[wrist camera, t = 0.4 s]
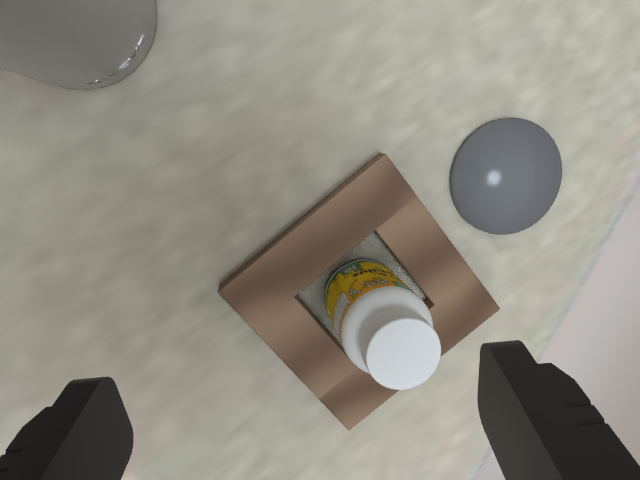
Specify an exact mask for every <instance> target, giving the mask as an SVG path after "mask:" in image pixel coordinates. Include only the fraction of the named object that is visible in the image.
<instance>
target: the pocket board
mask: <svg viewBox="0 0 640 480" xmlns="http://www.w3.org/2000/svg"><path fill="white" fill-rule="evenodd" d="M374 231H375V233H376V234H377V235H378V237H379V238H380V239H381V240H382V242H383V243H384V244H385V245H386V247H387V248H388V249H389V250H390V252H391V253H392V254H393V256H394V257H395V258H396V259H397V261H398V262H399V263H400V264H401V266H402V267H403V268H404V269H405V271H406V272H407V273H408V275H409V276H410V277H411V278H412V280H413V281H414V282H415V283H416V285H417V286H418V287H419V288H420V290H421V291H422V292H423V293H424V295H425V296H426V297H427V298H426V299H425V300H424V301H423V302H424V303H425V304H426V306H427V308H428V310H429V312H430V314H431V317H432V321H433V329H434V330H435V332H436V333H437V335H438V337H439V340H440V344H441V356H442V355H443V354H445V353H446V352H447V351H448V350H450V349H451V348H452V347H453V346H455V345H456V344H457V343H458V342H460V341H461V340H462V339H463V338H465V337H466V336H467V335H468V334H469V333H471V332H472V331H473V330H474V329H476V328H477V327H478V326H479V325H481V324H482V323H483V322H484V321H486V320H487V319H488V318H489V317H491V316H492V315H493V314H494V313H496V312H497V311H498V310H499V309H500V308H499V306H498V305H497V304H496V302H495V301H494V300H493V298H492V297H491V296H490V294H489V293H488V292H487V290H486V289H485V287H484V286H483V285H482V283H481V282H480V281H479V279H478V278H477V277H476V275H475V274H474V273H473V271H472V270H471V269H470V267H469V266H468V264H467V263H466V262H465V260H464V259H463V258H462V256H461V255H460V254H459V252H458V251H457V250H456V248H455V247H454V246H453V244H452V243H451V241H450V240H449V239H448V237H447V236H446V235H445V233H444V232H443V231H442V229H441V228H440V227H439V225H438V224H437V223H436V221H435V220H434V219H433V217H432V216H431V214H430V213H429V212H428V210H427V209H426V208H425V206H424V205H423V204H422V202H421V201H420V200H419V198H418V197H417V196H416V194H415V193H414V191H413V190H412V189H411V187H410V186H409V185H408V183H407V182H406V181H405V179H404V178H403V177H402V175H401V174H400V173H399V171H398V170H397V169H396V167H395V166H394V164H393V163H392V162H391V160H390V159H389V158H388V156H387V155H386V154H381V153H379V154H378V155H377V156H376V157H374V158H373V159H372V160H371V161H370V162H368V163H367V164H366V165H365V166H364V167H362V168H361V169H360V170H359V171H358V172H356V173H355V174H354V175H353V176H351V177H350V178H349V179H348V180H347V181H345V182H344V183H343V184H342V185H341V186H339V187H338V188H337V189H336V190H335V191H333V192H332V193H331V194H330V195H328V196H327V197H326V198H325V199H324V200H322V201H321V202H320V203H319V204H318V205H316V206H315V207H314V208H313V209H312V210H310V211H309V212H308V213H307V214H306V215H304V216H303V217H302V218H301V219H299V220H298V221H297V222H296V223H295V224H293V225H292V226H291V227H290V228H289V229H287V230H286V231H285V232H284V233H283V234H281V235H280V236H279V237H278V238H276V239H275V240H274V241H273V242H272V243H270V244H269V245H268V246H267V247H266V248H264V249H263V250H262V251H261V252H260V253H258V254H257V255H256V256H255V257H253V258H252V259H251V260H250V261H249V262H247V263H246V264H245V265H244V266H243V267H241V268H240V269H239V270H238V271H237V272H235V273H234V274H233V275H232V276H230V277H229V278H228V279H227V280H226V281H224V282H223V283H222V284H221V285H220V286H219V290H218V293H219V294H220V295H221V297H222V298H223V299H224V300H225V301H226V302H227V303H228V304H229V305H230V306H231V307H232V308H233V309H234V310H235V311H236V312H237V313H238V314H239V315H240V317H241V318H242V319H243V320H244V321H245V322H246V323H247V324H248V325H249V326H250V327H251V328H252V329H253V330H254V331H255V332H256V333H257V334H258V336H259V337H260V338H261V339H262V340H263V341H264V342H265V343H266V344H267V345H268V346H269V347H270V348H271V349H272V350H273V351H274V352H275V353H276V354H277V356H278V357H279V358H280V359H281V360H282V361H283V362H284V363H285V364H286V365H287V366H288V367H289V368H290V369H291V370H292V371H293V372H294V373H295V375H296V376H297V377H298V378H299V379H300V380H301V381H302V382H303V383H304V384H305V385H306V386H307V387H308V388H309V389H310V390H311V391H312V392H313V393H314V395H315V396H316V397H317V398H318V399H319V400H320V401H321V402H322V403H323V404H324V405H325V406H326V407H327V408H328V409H329V410H330V411H331V412H332V414H333V415H334V416H335V417H336V418H337V419H338V420H339V421H340V422H341V423H342V424H343V425H344V426H345V427H346V428H347V429H348V430H350V429H352V428H353V427H354V426H355V425H356V424H358V423H359V422H360V421H361V420H363V419H364V418H365V417H366V416H368V415H369V414H370V413H371V412H373V411H374V410H375V409H376V408H378V407H379V406H380V405H381V404H383V403H384V402H385V401H386V400H388V399H389V398H390V397H391V396H392V395H394V394H395V393H396V392H397V391H399V390H395V389H390V388H387V387H385V386H382V385H381V384H379V383H378V382H377V381H376V380H375V379H374V378H373V377H372V376H371V374H369V373H367V372H365V371H363V370H361V369H360V368H358V367H357V366H356V365H355V364H354V363H353V362H352V361H351V360H350V359H349V357H348V356H347V354H346V352H345V350H344V348H343V346H342V345H341V344H340V343H339V342H338V341H337V340H336V339H335V337H334V336H333V335H332V334H331V333H330V332H329V331H328V330H327V328H326V327H325V326H324V325H323V324H322V323H321V322H320V321H319V319H318V318H317V317H316V316H315V315H314V314H313V313H312V312H311V310H310V309H309V308H308V307H307V306H306V305H305V304H304V303H303V301H302V300H301V299H300V298H299V297H298V296H297V294H298V293H299V292H300V291H302V290H303V289H304V288H305V287H307V286H308V285H309V284H310V283H311V282H313V281H314V280H315V279H316V278H318V277H319V276H320V275H321V274H322V273H324V272H325V271H326V270H327V269H328V268H330V267H331V266H332V265H333V264H335V263H336V262H337V261H338V260H339V259H341V258H342V257H343V256H344V255H346V254H347V253H348V252H349V251H350V250H352V249H353V248H354V247H355V246H357V245H358V244H359V243H360V242H361V241H363V240H364V239H365V238H366V237H367V236H369V235H370V234H371V233H372V232H374ZM441 356H440V357H441Z"/></svg>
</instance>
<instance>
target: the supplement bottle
mask: <svg viewBox="0 0 640 480" xmlns="http://www.w3.org/2000/svg"><path fill="white" fill-rule="evenodd" d="M325 305H326V309H327V312H328V315H329V317H330V319H331V321H332V324H333V326H334V328H335V330H336V332H337V335H338V337H339V340H340V342H341V344H342V346H343V348H344V350H345V352H346V354H347V356H348V357H349V359H350V360H351V361H352V362H353V363H354V364H355V365H356V366H357V367H358V368H360V369H361V370H363V371H365V372H367V373H369V374H371V376H372V377H373V378H374V379H375V380H376V381H377V382H378V383H379V384H381V385H382V386H385V387H387V388H390V389H395V390H404V389H410V388H413V387H415V386H418V385H419V384H421V383H423V382H424V381H426V380H427V379H428V378H429V377H430V376H431V375H432V374H433V372H434V371H435V369H436V367H437V366H438V363H439V360H440V356H441V344H440V340H439V337H438V335H437V333H436V332H435V330H434V329H433V321H432V317H431V314H430V312H429V310H428V308H427V306H426V304H425V303H424V302H423V301H422V300H421V298H420V297H419V296H417V295H416V294H415V293H414V292H413V291H412V290H411V289H410V288H409V287H408V286H407V285H405V284H404V283H403V282H402V281H401V280H400V279H399V278H398V277H397V276H396V275H395V274H394V273H393V272H392V271H391V270H389V269H388V268H387V267H386V266H384V265H383V264H381V263H379V262H376V261H373V260H367V259H360V260H355V261H352V262H350V263H348V264H346V265H344V266H342V267H340V268H339V269H338V270H337V271H336V272H334V274H333V275H332V276H331V277H330V279H329V281H328V283H327V286H326V290H325Z"/></svg>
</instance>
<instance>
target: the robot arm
mask: <svg viewBox="0 0 640 480" xmlns="http://www.w3.org/2000/svg"><path fill="white" fill-rule="evenodd" d="M156 21H157V8H156V0H0V69H2V70H5V71H9V72H12V73H16V74H19V75H23V76H26V77H29V78H33V79H37V80H40V81H44V82H48V83H51V84H55V85H59V86H62V87H66V88H71V89H84V90H87V89H94V88H102V87H105V86H108V85H110V84H113V83H116V82H118V81H120V80H121V79H123V78H124V77H126V76H127V75H129V74H130V73H132V72H133V71H134V70H135V69H136V67H137V66H138V65H139V64H140V63H141V62H142V61H143V59H144V58H145V56H146V54H147V52H148V51H149V49H150V47H151V44H152V41H153V38H154V34H155V31H156ZM478 409H479V414H480V419H481V422H482V425H483V428H484V431H485V433H486V435H487V438H488V440H489V442H490V445H491V447H492V449H493V452H494V454H495V456H496V458H497V461H498V463H499V465H500V468H501V470H502V472H503V475H504V477H505V479H506V480H640V466H639V465H638V463H637V462H636V461H635V459H634V458H633V457H632V456H631V454H630V453H629V451H628V450H627V449H626V447H625V446H624V445H623V444H622V442H621V441H620V439H619V438H618V437H617V436H616V434H615V433H614V432H613V430H612V429H611V428H610V426H609V425H608V424H605V422H604V418H603V417H602V416H601V414H600V413H599V412H598V410H597V409H596V408H595V406H593V405H591V403H590V400H589V398H588V397H587V396H586V394H585V393H584V392H583V390H582V389H581V388H580V386H579V385H578V384H577V383H576V382H575V380H574V379H573V378H571V377H570V376H569V375H567V374H566V373H564V372H563V371H562V370H560V369H559V368H557V367H556V366H555V365H553V364H552V363H544V364H537V363H536V361H535V360H534V358H533V357H532V355H531V354H530V352H529V351H528V350H527V348H526V347H525V345H524V344H523V343H522V342H521V341H519V340H515V341H504V342H493V343H484V344H482V346H481V349H480V364H479V381H478ZM132 448H133V429H132V426H131V423H130V420H129V418H128V415H127V412H126V410H125V407H124V405H123V402H122V399H121V397H120V394H119V391H118V389H117V386H116V384H115V382H114V380H113V379H112V378H110V377H99V378H88V379H77V380H73V381H71V382H69V383H68V384H67V386H66V387H65V388H64V390H63V391H62V393H61V394H60V396H59V397H58V398H57V400H56V401H55V403H54V404H53V406H51V407H46V408H44V409H43V410H42V411H41V412H40V413H39V414H37V415H36V416H35V417H34V418H33V419H32V420H30V421H29V422H28V423H27V424H26V425H25V426H23V427H22V429H21V430H20V431H19V433H18V434H17V435H16V437H15V438H14V439H13V441H12V442H11V444H10V445H9V446H8V448H7V449H6V453H5V455H2V456H1V457H0V480H121V477H122V475H123V473H124V470H125V468H126V466H127V464H128V461H129V459H130V456H131V453H132Z"/></svg>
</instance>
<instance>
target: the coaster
mask: <svg viewBox="0 0 640 480" xmlns="http://www.w3.org/2000/svg"><path fill="white" fill-rule="evenodd" d="M561 178H562V162H561V157H560V153H559V150H558V148H557V146H556V144H555V142H554V140H553V139H552V137H551V136H550V135H549V134H548V133H547V132H546V131H545V130H544V129H543V128H542V127H540V126H539V125H537V124H535V123H533V122H531V121H528V120H524V119H518V118H509V119H500V120H496V121H492V122H489V123H487V124H485V125H483V126H481V127H479V128H478V129H477V130H475V131H474V132H473V133H472V134H471V135H470V136H468V137H467V139H466V140H465V141H464V142H463V143H462V145H461V147H460V148H459V150H458V152H457V154H456V156H455V158H454V161H453V164H452V168H451V173H450V190H451V195H452V199H453V202H454V204H455V207H456V208H457V210H458V212H459V213H460V215H461V216H462V217H463V218H464V219H465V220H466V221H467V222H468V223H469V224H471V225H472V226H474V227H476V228H478V229H480V230H482V231H485V232H488V233H491V234H498V235H506V234H513V233H517V232H520V231H522V230H525V229H527V228H529V227H530V226H532V225H533V224H535V223H536V222H538V221H539V220H540V219H541V218H542V217H543V216H544V215H545V214H546V213H547V211H548V210H549V209H550V207H551V206H552V204H553V202H554V201H555V199H556V196H557V194H558V191H559V188H560V184H561Z"/></svg>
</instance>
